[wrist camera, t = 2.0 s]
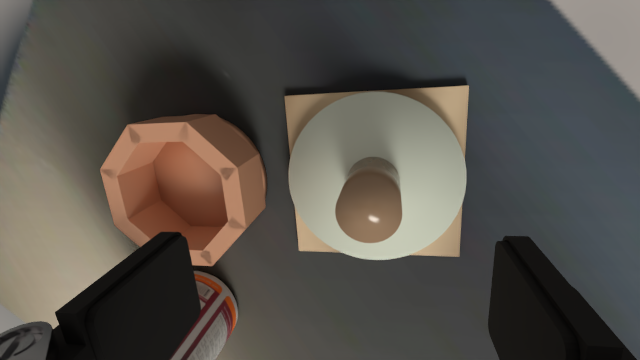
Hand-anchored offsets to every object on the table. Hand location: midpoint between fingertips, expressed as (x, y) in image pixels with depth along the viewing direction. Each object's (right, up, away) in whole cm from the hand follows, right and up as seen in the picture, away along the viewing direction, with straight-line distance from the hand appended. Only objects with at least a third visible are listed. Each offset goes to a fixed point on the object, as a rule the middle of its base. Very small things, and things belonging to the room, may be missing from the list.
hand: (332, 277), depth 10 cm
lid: (+3, +3, +10) cm, 11 cm away
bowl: (-8, +3, +13) cm, 15 cm away
